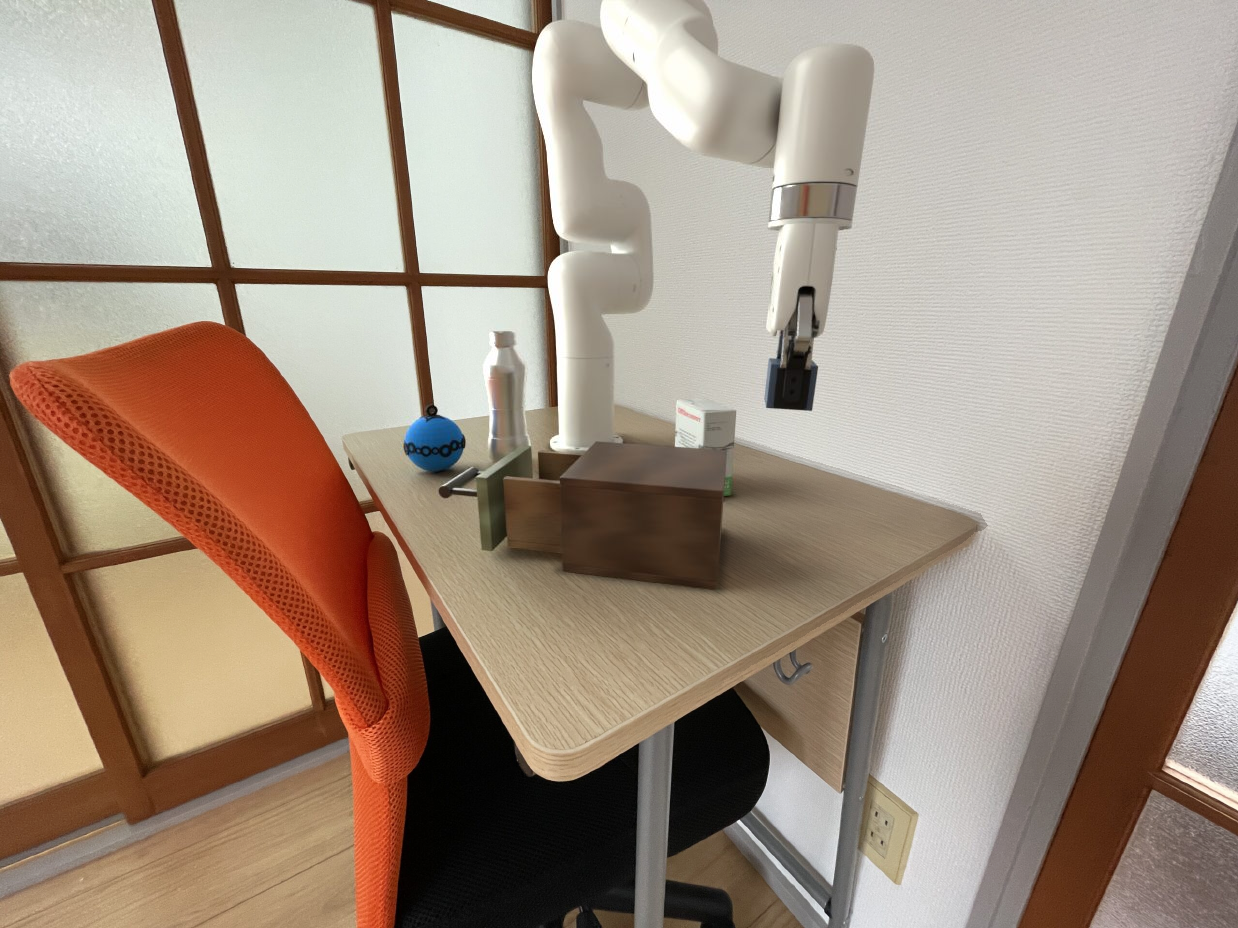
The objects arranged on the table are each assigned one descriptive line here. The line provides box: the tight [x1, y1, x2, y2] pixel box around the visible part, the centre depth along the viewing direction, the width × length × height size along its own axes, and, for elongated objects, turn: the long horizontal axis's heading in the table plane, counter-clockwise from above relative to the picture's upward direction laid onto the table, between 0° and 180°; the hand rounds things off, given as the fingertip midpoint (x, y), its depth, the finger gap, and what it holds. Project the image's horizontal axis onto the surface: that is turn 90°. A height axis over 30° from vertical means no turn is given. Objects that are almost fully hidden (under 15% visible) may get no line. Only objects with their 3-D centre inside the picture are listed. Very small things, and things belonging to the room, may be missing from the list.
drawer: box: [438, 445, 584, 554], centre depth 56 cm, size 19×11×8 cm, turn 77°
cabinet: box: [560, 441, 727, 591], centre depth 54 cm, size 15×13×10 cm
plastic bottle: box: [482, 330, 532, 464], centre depth 80 cm, size 6×7×20 cm
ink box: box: [674, 398, 737, 497], centre depth 71 cm, size 9×5×12 cm, turn 19°
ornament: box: [402, 404, 467, 473], centre depth 77 cm, size 9×9×10 cm
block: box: [764, 357, 819, 412], centre depth 55 cm, size 4×4×4 cm
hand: (787, 401), depth 55 cm, fingers closed on block, 4 cm apart
